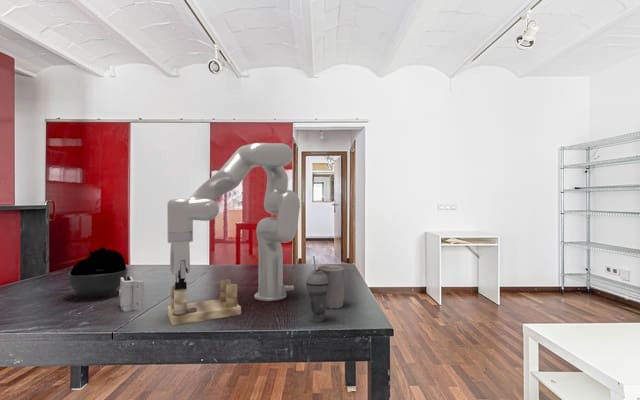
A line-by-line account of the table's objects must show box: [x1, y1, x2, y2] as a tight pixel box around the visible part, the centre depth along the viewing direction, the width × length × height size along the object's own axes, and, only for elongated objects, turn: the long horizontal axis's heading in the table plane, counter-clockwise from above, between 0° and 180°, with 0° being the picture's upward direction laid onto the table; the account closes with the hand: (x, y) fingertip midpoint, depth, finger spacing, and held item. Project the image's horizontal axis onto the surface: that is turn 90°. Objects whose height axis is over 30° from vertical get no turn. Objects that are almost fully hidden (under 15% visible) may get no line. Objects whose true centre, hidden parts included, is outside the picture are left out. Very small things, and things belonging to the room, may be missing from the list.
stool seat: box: [167, 278, 242, 326], centre depth 110 cm, size 21×13×10 cm, turn 120°
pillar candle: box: [317, 263, 345, 310], centre depth 120 cm, size 10×10×15 cm
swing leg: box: [174, 288, 197, 315], centre depth 103 cm, size 7×4×7 cm, turn 124°
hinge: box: [118, 275, 145, 312], centre depth 116 cm, size 14×5×10 cm, turn 47°
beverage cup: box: [305, 255, 329, 323], centre depth 105 cm, size 7×7×20 cm
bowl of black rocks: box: [67, 246, 128, 298], centre depth 132 cm, size 20×20×19 cm
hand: (180, 294), depth 106 cm, fingers closed
